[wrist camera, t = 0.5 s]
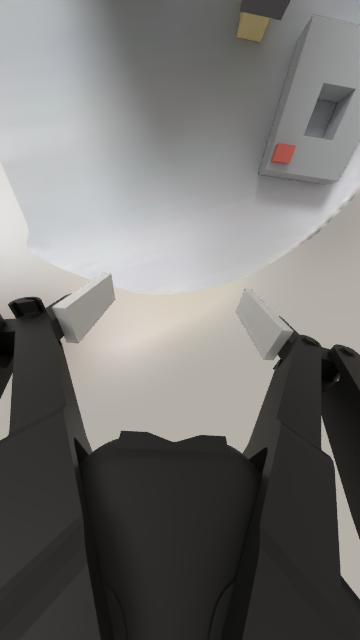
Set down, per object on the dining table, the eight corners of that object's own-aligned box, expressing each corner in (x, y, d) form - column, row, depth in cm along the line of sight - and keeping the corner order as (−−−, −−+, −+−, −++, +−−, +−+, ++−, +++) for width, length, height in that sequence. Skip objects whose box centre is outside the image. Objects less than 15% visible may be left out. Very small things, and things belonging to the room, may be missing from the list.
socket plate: (297, 39, 21) (318, 6, 18) (387, 57, 22) (422, 29, 18) (258, 174, 29) (267, 168, 25) (325, 184, 29) (342, 179, 26)
